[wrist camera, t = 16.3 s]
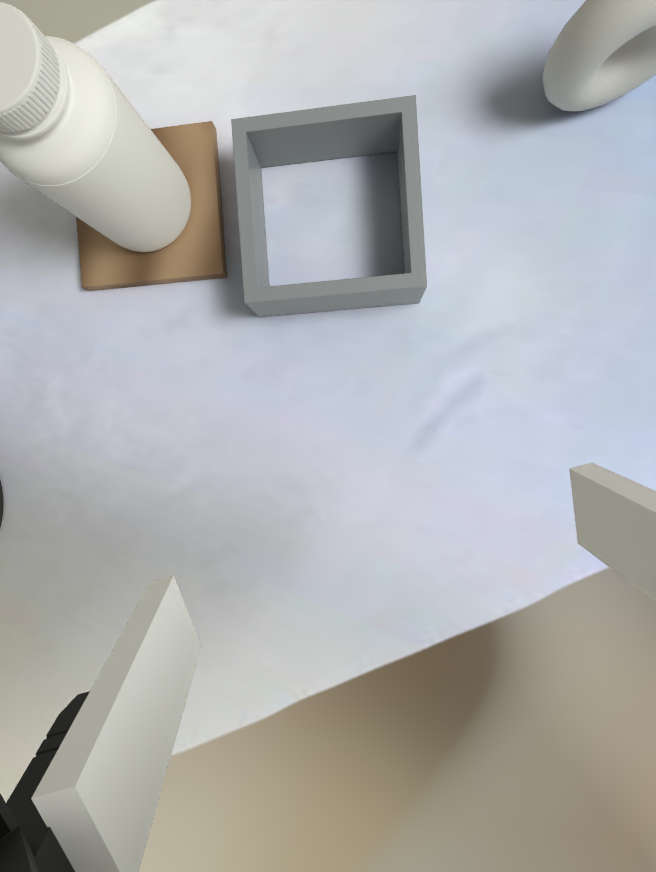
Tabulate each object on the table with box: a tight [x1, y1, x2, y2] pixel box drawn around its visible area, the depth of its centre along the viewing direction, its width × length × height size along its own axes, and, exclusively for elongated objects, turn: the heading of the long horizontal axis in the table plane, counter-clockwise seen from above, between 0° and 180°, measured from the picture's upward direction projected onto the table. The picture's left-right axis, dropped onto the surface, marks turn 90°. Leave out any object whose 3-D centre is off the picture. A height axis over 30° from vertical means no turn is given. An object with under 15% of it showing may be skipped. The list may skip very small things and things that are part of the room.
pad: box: [76, 121, 227, 291], centre depth 36 cm, size 12×12×1 cm
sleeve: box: [231, 95, 427, 317], centre depth 33 cm, size 13×13×4 cm
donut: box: [542, 0, 656, 111], centre depth 29 cm, size 10×3×10 cm, turn 107°
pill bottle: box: [0, 2, 191, 252], centre depth 28 cm, size 8×8×15 cm
